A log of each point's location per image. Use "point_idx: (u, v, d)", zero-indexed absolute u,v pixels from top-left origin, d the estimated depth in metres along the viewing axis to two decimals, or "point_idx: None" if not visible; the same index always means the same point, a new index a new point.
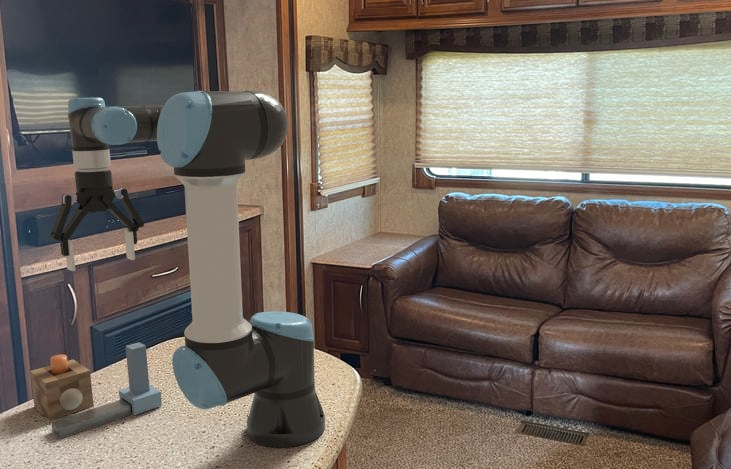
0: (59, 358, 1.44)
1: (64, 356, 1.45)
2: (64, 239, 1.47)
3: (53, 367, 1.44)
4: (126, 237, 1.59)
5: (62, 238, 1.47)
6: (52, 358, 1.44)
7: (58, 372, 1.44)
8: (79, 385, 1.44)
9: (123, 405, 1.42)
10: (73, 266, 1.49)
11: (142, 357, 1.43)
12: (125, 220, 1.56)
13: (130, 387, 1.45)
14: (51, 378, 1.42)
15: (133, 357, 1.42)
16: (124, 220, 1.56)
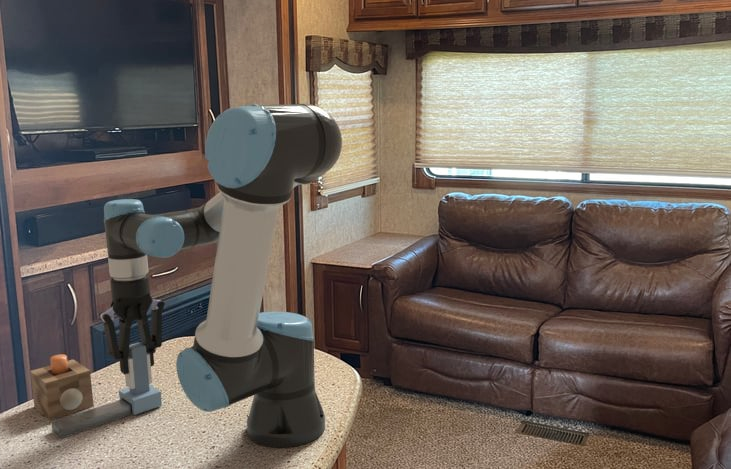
0: (59, 358, 1.44)
1: (64, 356, 1.45)
2: (125, 358, 1.41)
3: (53, 367, 1.44)
4: None
5: (122, 356, 1.41)
6: (52, 358, 1.44)
7: (58, 372, 1.44)
8: (79, 385, 1.44)
9: (123, 405, 1.42)
10: (133, 384, 1.43)
11: (142, 357, 1.43)
12: (147, 337, 1.44)
13: None
14: (51, 378, 1.42)
15: (133, 357, 1.42)
16: (147, 337, 1.44)
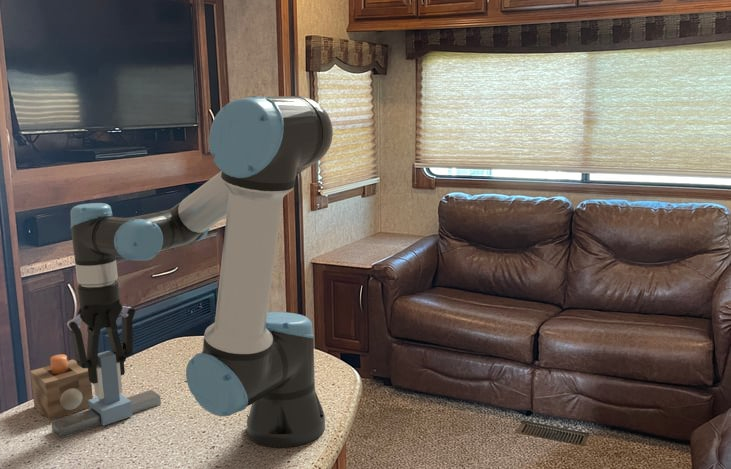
0: (59, 358, 1.44)
1: (64, 356, 1.45)
2: (93, 367, 1.37)
3: (53, 367, 1.44)
4: None
5: (90, 365, 1.36)
6: (52, 358, 1.44)
7: (58, 372, 1.44)
8: (79, 385, 1.44)
9: None
10: (102, 394, 1.38)
11: (112, 366, 1.39)
12: (117, 346, 1.39)
13: None
14: (51, 378, 1.42)
15: (102, 366, 1.38)
16: (116, 345, 1.39)
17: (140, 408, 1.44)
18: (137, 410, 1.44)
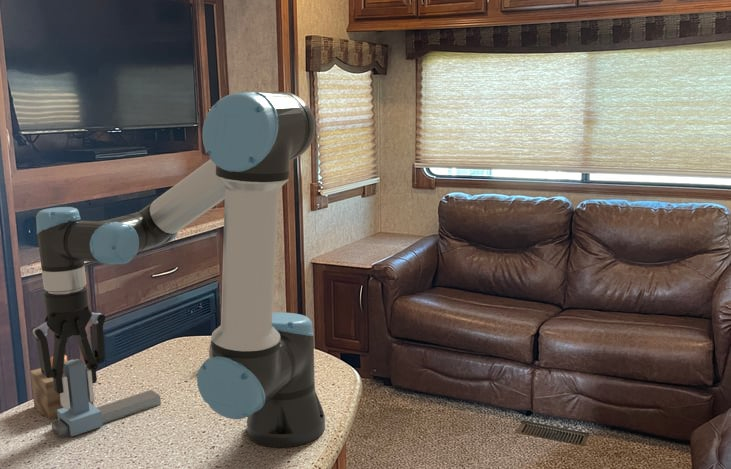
0: None
1: None
2: (58, 376, 1.32)
3: None
4: None
5: (55, 375, 1.32)
6: (52, 358, 1.44)
7: None
8: None
9: (123, 405, 1.42)
10: (68, 404, 1.34)
11: (81, 375, 1.35)
12: (88, 353, 1.35)
13: None
14: (51, 378, 1.42)
15: (70, 375, 1.33)
16: (87, 353, 1.35)
17: (140, 408, 1.44)
18: (137, 410, 1.44)
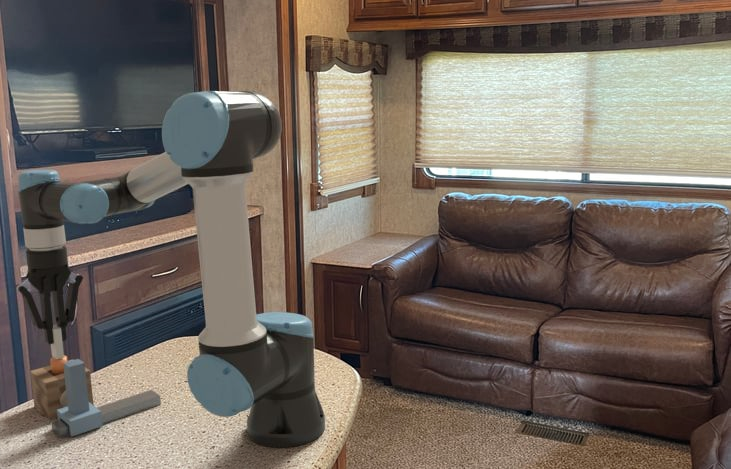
0: (59, 359, 1.44)
1: (64, 357, 1.45)
2: (49, 328, 1.42)
3: (53, 368, 1.44)
4: None
5: (46, 326, 1.41)
6: (52, 359, 1.44)
7: (58, 373, 1.44)
8: None
9: (123, 405, 1.42)
10: (58, 354, 1.43)
11: (81, 375, 1.35)
12: (60, 311, 1.43)
13: (68, 406, 1.36)
14: (51, 378, 1.42)
15: (70, 375, 1.33)
16: (60, 310, 1.43)
17: (140, 408, 1.44)
18: (137, 410, 1.44)
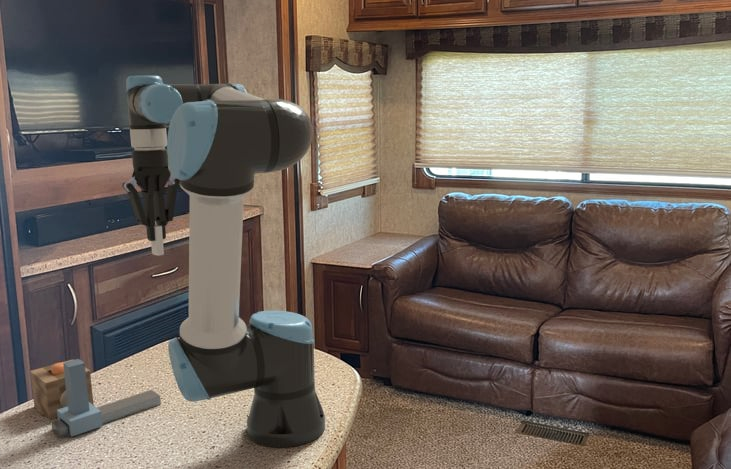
0: (60, 366, 1.44)
1: None
2: (152, 225, 1.52)
3: (54, 375, 1.44)
4: None
5: (149, 223, 1.52)
6: (53, 366, 1.45)
7: None
8: None
9: (123, 405, 1.42)
10: (159, 251, 1.54)
11: (81, 375, 1.35)
12: (161, 210, 1.53)
13: (68, 406, 1.36)
14: (51, 378, 1.42)
15: (70, 375, 1.33)
16: (161, 209, 1.53)
17: (140, 408, 1.44)
18: (137, 410, 1.44)
